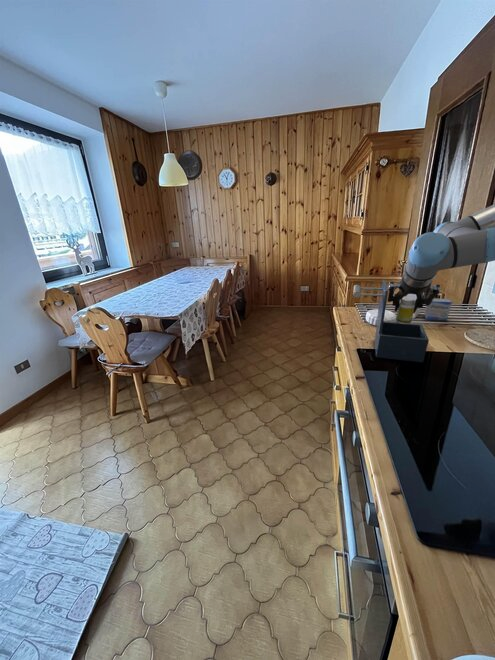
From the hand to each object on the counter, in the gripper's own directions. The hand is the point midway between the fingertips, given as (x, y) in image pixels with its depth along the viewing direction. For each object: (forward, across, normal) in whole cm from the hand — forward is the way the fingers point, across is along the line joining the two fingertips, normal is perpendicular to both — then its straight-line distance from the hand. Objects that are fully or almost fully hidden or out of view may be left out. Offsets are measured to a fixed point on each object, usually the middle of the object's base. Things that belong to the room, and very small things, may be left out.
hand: (404, 308), depth 98 cm
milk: (+33, -5, -11) cm, 35 cm away
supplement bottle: (0, 0, +5) cm, 5 cm away
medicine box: (+32, -15, -11) cm, 37 cm away
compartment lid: (-4, +7, +2) cm, 8 cm away
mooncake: (+26, +7, -4) cm, 27 cm away
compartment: (+8, 0, +13) cm, 16 cm away
